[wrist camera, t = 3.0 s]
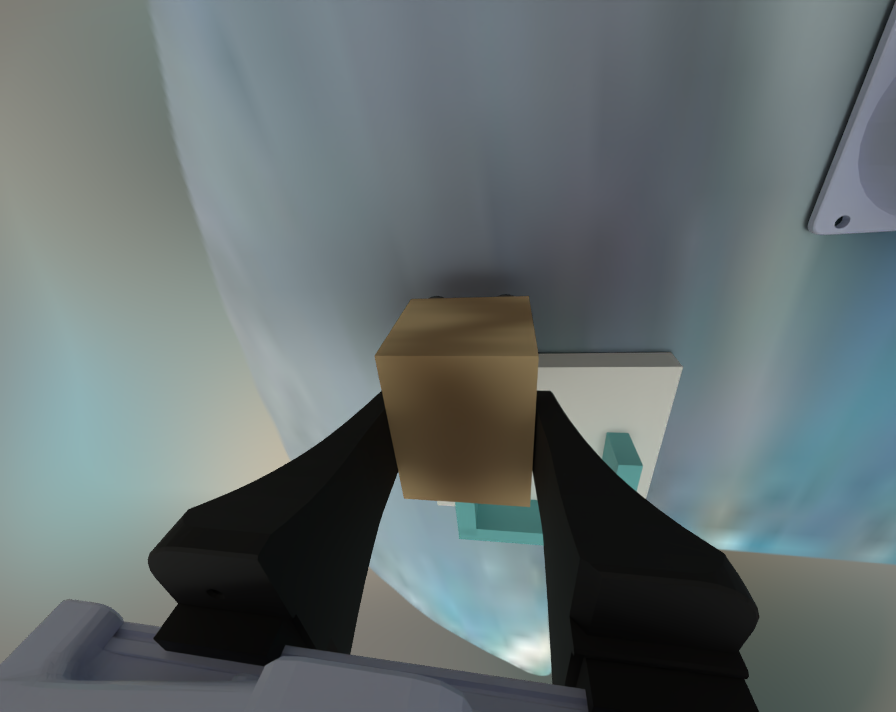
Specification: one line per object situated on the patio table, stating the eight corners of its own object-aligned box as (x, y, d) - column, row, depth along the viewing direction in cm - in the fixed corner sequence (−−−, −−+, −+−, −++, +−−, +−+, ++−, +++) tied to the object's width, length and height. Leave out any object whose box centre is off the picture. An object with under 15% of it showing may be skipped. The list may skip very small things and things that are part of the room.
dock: (671, 352, 19) (707, 396, 16) (633, 498, 25) (654, 553, 22) (421, 355, 21) (405, 393, 18) (440, 488, 27) (431, 536, 24)
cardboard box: (527, 289, 14) (538, 356, 9) (523, 410, 17) (529, 507, 12) (415, 292, 14) (374, 356, 10) (430, 408, 17) (403, 498, 13)
